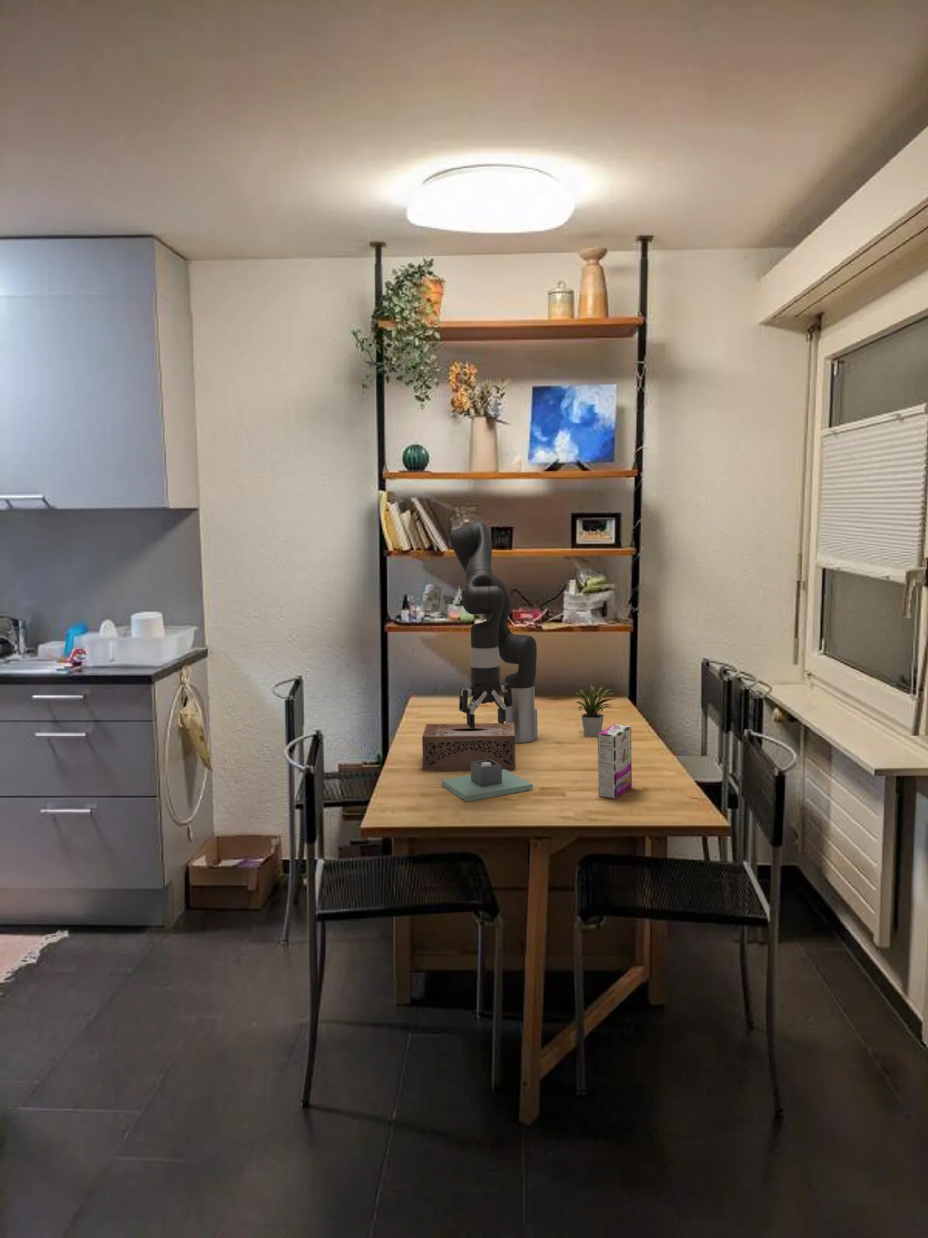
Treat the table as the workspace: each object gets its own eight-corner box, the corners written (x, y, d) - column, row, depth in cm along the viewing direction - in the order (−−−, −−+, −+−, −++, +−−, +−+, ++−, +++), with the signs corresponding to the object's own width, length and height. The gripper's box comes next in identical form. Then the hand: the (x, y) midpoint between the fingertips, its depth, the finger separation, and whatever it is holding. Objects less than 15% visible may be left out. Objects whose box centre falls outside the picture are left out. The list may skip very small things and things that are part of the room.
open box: (491, 777, 232) (491, 758, 231) (501, 783, 227) (501, 764, 226) (471, 780, 230) (470, 762, 229) (481, 787, 224) (481, 768, 224)
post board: (504, 774, 239) (504, 751, 238) (532, 789, 226) (532, 765, 225) (441, 785, 231) (441, 761, 230) (466, 801, 218) (465, 776, 217)
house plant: (593, 744, 268) (593, 691, 266) (560, 735, 278) (559, 685, 276) (622, 735, 277) (623, 684, 275) (589, 727, 288) (589, 679, 286)
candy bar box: (614, 784, 229) (614, 723, 227) (632, 787, 226) (632, 725, 224) (596, 796, 220) (596, 732, 218) (615, 799, 217) (615, 735, 215)
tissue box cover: (423, 771, 244) (422, 736, 243) (427, 756, 259) (426, 723, 257) (515, 770, 243) (515, 735, 242) (514, 756, 258) (514, 723, 256)
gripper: (502, 659, 230) (503, 719, 233) (453, 664, 224) (455, 726, 226) (516, 663, 224) (517, 725, 226) (466, 669, 218) (468, 732, 220)
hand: (486, 725), depth 226 cm, fingers open, 8 cm apart
